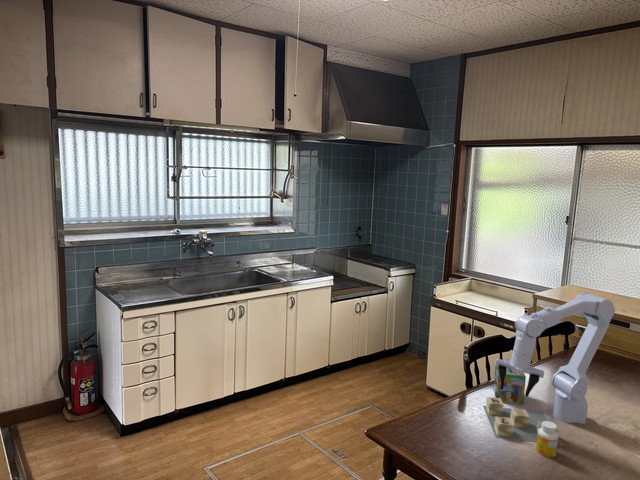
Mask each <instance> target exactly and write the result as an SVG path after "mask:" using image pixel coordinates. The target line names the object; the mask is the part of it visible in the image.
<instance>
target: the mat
mask: <svg viewBox="0 0 640 480" xmlns="http://www.w3.org/2000/svg"><path fill="white" fill-rule="evenodd" d="M482 408H483V410H484V412H485V414H486V417H487V419H488V422H489V425H490V426H491V429H492V432H493V435H494V437H495V439H503V440H513V441H521V442H529V443H536V444H537V437H538V434H537V425H538V421H549V420H548V418H547V416H546V414H545V413H544V412H543V411H538V410H536V411H535V410H528V409H527V410H526V409H525V410H526V412H527V413H528V415H529V426H528V428H519V427H513V436H512V437H504V436H497V434H496V431H495V429H494V425H495V416H496V417H506V418H510V416H511V408H510V407H503V415H502V416H500V415H491V414H488V412H487V409H486V405H483V406H482ZM557 446H563V447H564V446H565V444H564V443H563V442H562V440H561V438H560V437H559V436H558V443H557Z"/></svg>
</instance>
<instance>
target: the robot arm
mask: <svg viewBox="0 0 640 480" xmlns="http://www.w3.org/2000/svg"><path fill="white" fill-rule="evenodd" d="M615 312H616V308H615V306H614V303H613V301H612V300H611V299H607V298H604V297H601V296H597V295H595V294H592V293H590V292H588V291H587V292H585V291H584V292H582V293H581V294H577V295H576V296H575V298H574V299H571V300H570V301H568V302H566V303H564V304H562V305H560V306H558V307H555V308H553V307H548V306H545V307H543V309H541V310H539V311H536V312H532V313H531V314H530V315H528V314H522V315H520V316H518V317H517V319H516V321H514V327H515V329H516V330H515V335H516V336H515V340H514V345H513V350H512V354H511V359H510V360H508V361H507V359H501V358H496V359H495V362H494V363H495V364H494V367H495V366H498V370H499V374H500V379H501V386H500V389H501V390H503V386H504V380H505V376H506V370H507V369H506V368H508V369H512V370H516V371H520V372H523V373H524V374H528V375H529V376H528V382H527V384H526V385H527V386H526V389H525V392H524V396H525V397H527V398H528V397H529V395H530V393H531V391H532V390H533V389H534V387H535V386H536V385H537V384H538V383H539V381H540V379H544V376H545V371H544V370H542V369H540V368H537V367H534V366H531V362H532V358H533V353H534V349H535V344H536V340H537V337H540V336H541V334H542V333H543V332H544V331H545V330H546V329H549V328H551V327H553V326H556V325H558V324H560V322H561V319H563V318H567V317H570V316H573V315H575V314H578V313H582V315H584V317H585V318H586V320H587V326H586V328H585V330H584V332H583V333H582V336H581V338H580V340H579V342H578V344H577V346H576V348H575V349H574V352H573V354H572V356H571V358H570V359H569V362H568V363H567V364H566V365H565V364H564V365H563V366H562V365H561V366H559V369H558V370H557V372H555V373H554V374H553V376H552V379H551V385H552V387H553V388H554V392H555V396H554V404H553V411H552V416H553V417H554V419H557V420H558V421H560V422H563V423H569V424H576V423H577V424H584V425H585V424H586V423H587V422H586V421H587V416H588V401H587V398H586V394H587V392H588V386H589V383H590V381H589V378H588V377H587V375H586V372H587V371H588V368H589V367H590V363H591V362H592V360H593V358H594V356H595V354H596V352H597V350H598V348H599V346H600V344H601V342H602V340H603V338H604V336H605V335H606V332H607V330H608V328H609V326H610V324H611V323H610V322H611V321H612V318H613V317H614V315H615Z"/></svg>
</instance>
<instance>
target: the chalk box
mask: <svg viewBox="0 0 640 480" xmlns="http://www.w3.org/2000/svg"><path fill="white" fill-rule="evenodd" d="M506 360H507V361H509V359H508V358H506ZM494 367H495V368H494V379H493V380H494V381H493V382H494V383H493V388H492V389H493V394H494V396H495V397H494V398H501V401H502V403H510V404H518V405H524V403H525V402H524V401H525V392H526V389H525V388H526V373H523V372H520V371H516V370H512V369H508V368H506V369H507V370H506V376H505V380H504V386H503V390H501V389H500V386H501V379H500V374H499V370H498V366H495V365H494Z"/></svg>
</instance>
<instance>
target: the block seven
mask: <svg viewBox="0 0 640 480" xmlns="http://www.w3.org/2000/svg"><path fill="white" fill-rule="evenodd" d="M513 427H514V425H513V423H512V421H511V419H510V418H506V417H496V416H495V425H494V429H495V431H496V434H497V436H504V437H512V436H513Z"/></svg>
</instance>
